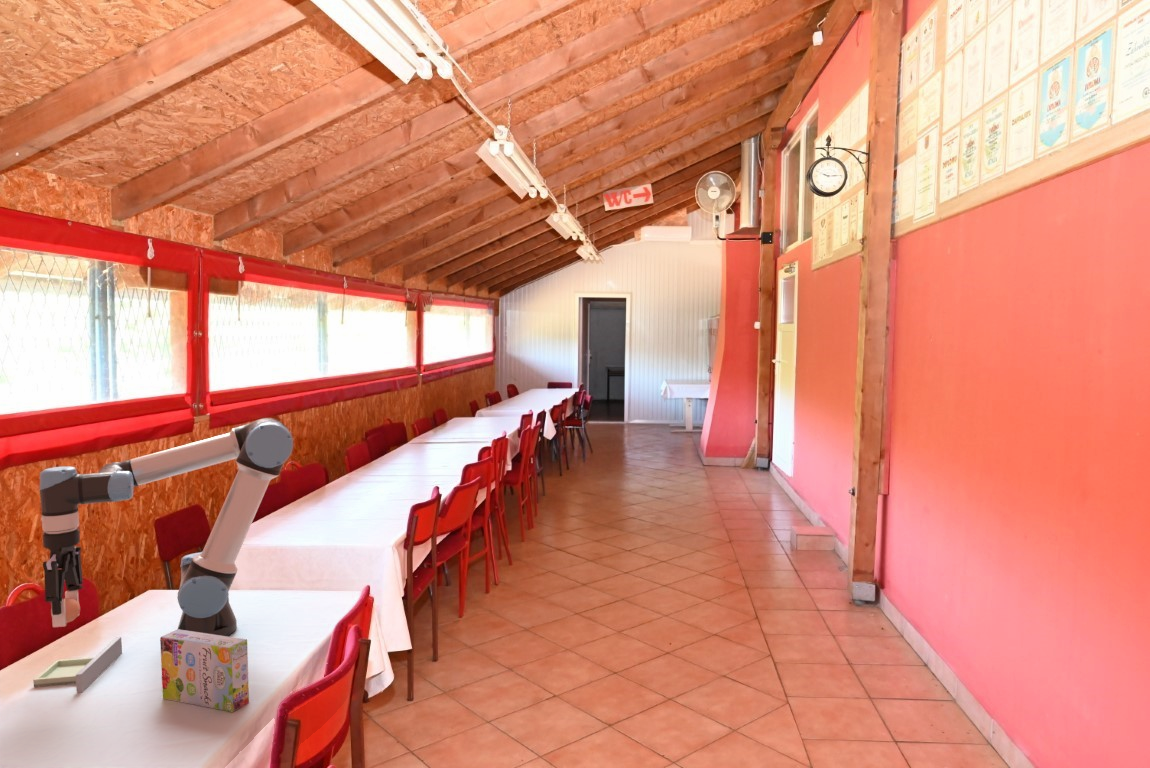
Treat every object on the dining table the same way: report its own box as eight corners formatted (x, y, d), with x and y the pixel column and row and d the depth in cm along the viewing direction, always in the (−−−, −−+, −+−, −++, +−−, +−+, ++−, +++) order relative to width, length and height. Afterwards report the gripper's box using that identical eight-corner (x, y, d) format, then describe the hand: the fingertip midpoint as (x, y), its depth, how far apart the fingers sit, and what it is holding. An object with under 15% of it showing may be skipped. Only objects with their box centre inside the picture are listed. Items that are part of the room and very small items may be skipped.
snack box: (251, 701, 170) (248, 638, 168) (232, 713, 164) (229, 648, 163) (180, 688, 176) (177, 627, 175) (160, 699, 171) (157, 636, 170)
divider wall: (122, 653, 196) (121, 636, 196) (82, 692, 175) (81, 674, 175) (117, 653, 196) (116, 637, 196) (76, 693, 175) (75, 674, 174)
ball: (85, 616, 187) (84, 593, 186) (73, 626, 181) (72, 602, 181) (59, 618, 186) (57, 595, 185) (46, 628, 180) (45, 604, 180)
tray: (104, 662, 191) (103, 656, 191) (83, 682, 180) (83, 675, 180) (57, 666, 189) (56, 660, 189) (33, 687, 178) (33, 679, 178)
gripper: (63, 521, 190) (68, 608, 192) (22, 541, 172) (28, 637, 173) (95, 519, 192) (100, 606, 193) (58, 539, 173) (63, 635, 175)
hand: (66, 620), depth 183 cm, fingers closed on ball, 6 cm apart
